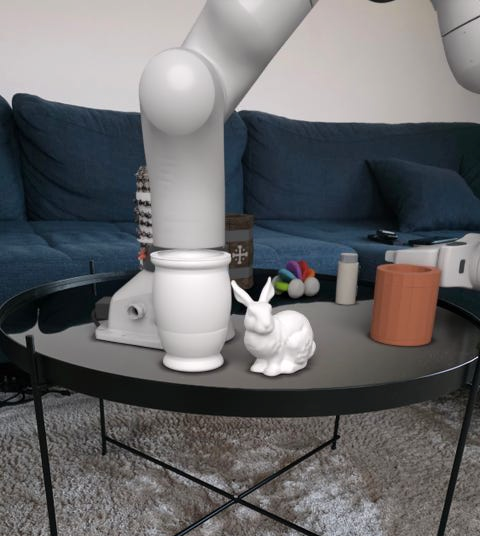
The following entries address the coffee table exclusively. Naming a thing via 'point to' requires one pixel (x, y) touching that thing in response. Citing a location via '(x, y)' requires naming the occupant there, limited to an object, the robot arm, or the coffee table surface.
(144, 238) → the decorative candle
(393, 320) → the terracotta jar
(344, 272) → the salt shaker
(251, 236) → the mug
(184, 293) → the jar
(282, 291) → the rainbow wheeled toy
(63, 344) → the coffee table surface
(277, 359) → the rabbit
